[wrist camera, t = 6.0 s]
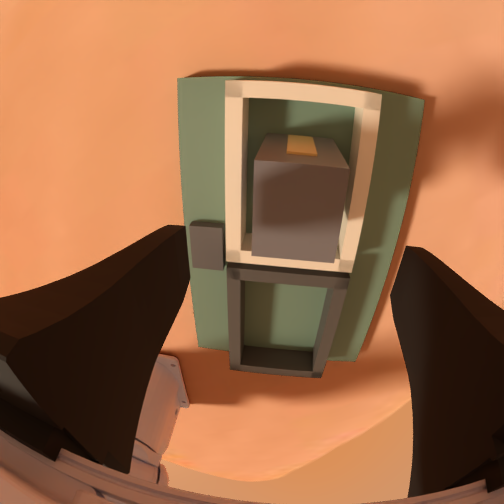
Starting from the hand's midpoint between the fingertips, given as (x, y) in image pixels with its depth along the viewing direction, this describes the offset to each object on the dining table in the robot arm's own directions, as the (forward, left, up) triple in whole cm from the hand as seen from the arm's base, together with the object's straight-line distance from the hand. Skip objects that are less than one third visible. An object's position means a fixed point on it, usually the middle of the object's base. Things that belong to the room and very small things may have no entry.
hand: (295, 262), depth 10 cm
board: (-4, 0, -9) cm, 10 cm away
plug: (+1, 0, -8) cm, 8 cm away
